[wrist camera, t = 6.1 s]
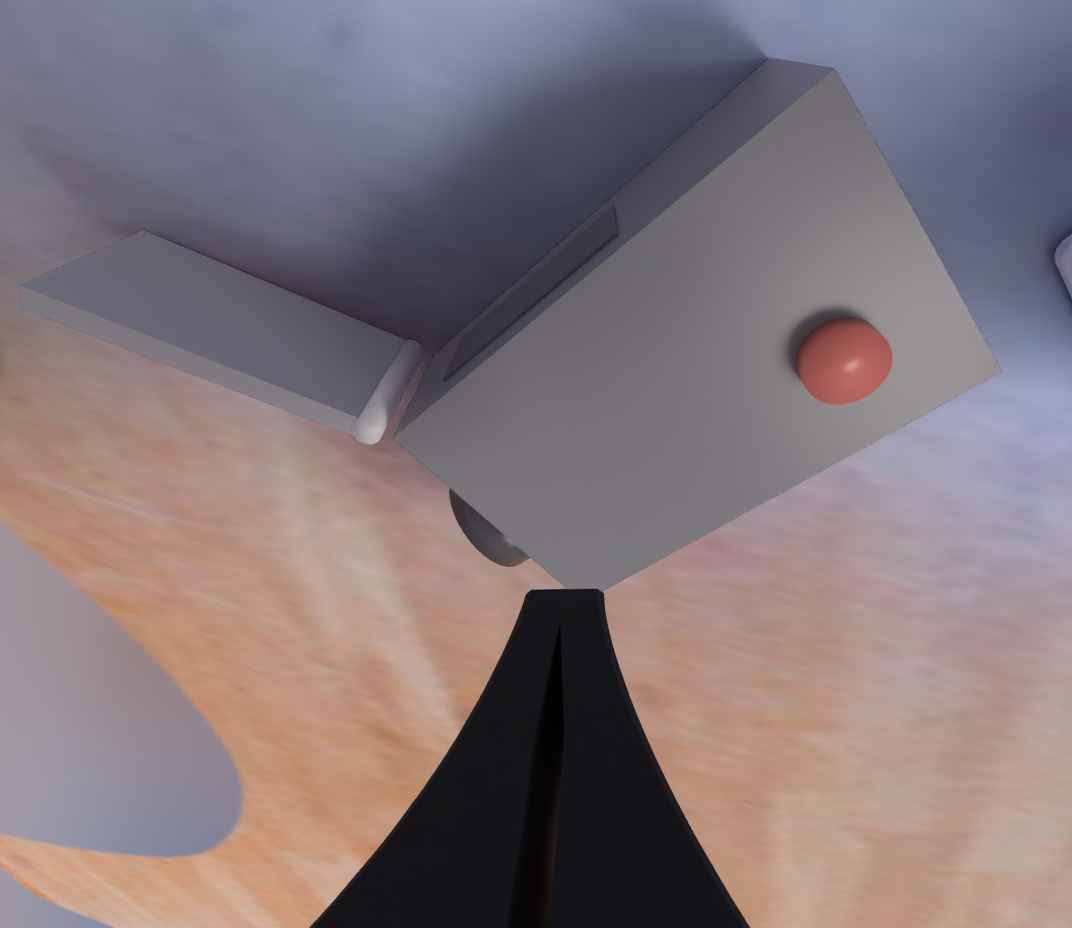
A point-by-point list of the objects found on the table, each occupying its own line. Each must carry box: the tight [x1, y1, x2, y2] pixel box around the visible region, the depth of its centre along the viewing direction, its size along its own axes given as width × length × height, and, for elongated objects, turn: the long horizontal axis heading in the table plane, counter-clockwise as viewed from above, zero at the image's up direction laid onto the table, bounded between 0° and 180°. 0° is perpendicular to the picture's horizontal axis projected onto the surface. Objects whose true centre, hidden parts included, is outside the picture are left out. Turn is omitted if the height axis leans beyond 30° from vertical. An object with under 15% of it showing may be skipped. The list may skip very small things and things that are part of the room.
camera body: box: [393, 58, 1003, 592], centre depth 17 cm, size 14×8×6 cm, turn 132°
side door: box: [19, 230, 424, 445], centre depth 17 cm, size 9×1×5 cm, turn 67°
